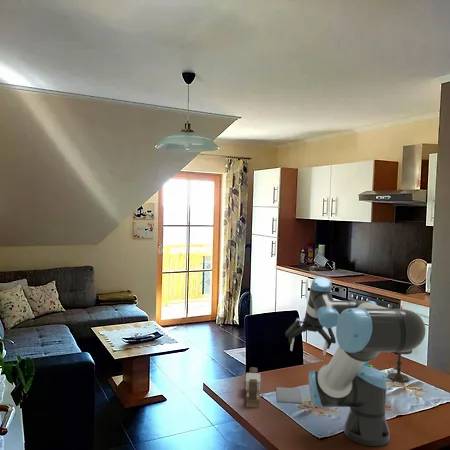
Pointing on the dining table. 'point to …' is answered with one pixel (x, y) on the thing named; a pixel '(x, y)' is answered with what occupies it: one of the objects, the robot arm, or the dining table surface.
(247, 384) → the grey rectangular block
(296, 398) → the grey mat
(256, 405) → the plane body
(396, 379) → the candlestick
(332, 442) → the dining table surface
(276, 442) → the dining table surface
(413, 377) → the dining table surface
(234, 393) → the dining table surface
